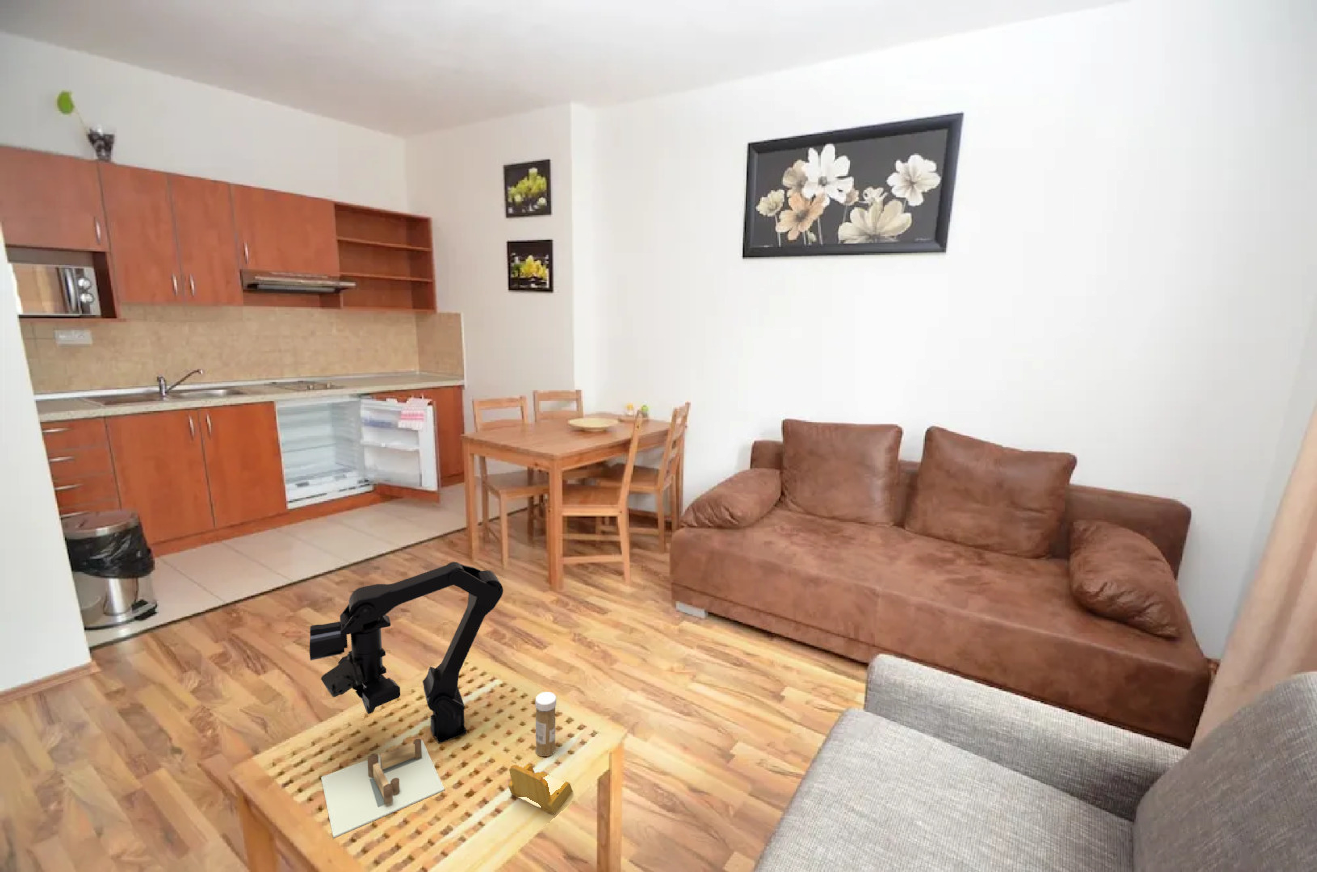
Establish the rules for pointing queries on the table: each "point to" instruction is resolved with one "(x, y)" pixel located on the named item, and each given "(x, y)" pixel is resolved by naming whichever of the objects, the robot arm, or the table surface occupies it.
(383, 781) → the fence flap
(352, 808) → the card
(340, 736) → the table surface
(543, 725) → the sprinkles bottle
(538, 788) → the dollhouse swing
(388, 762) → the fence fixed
